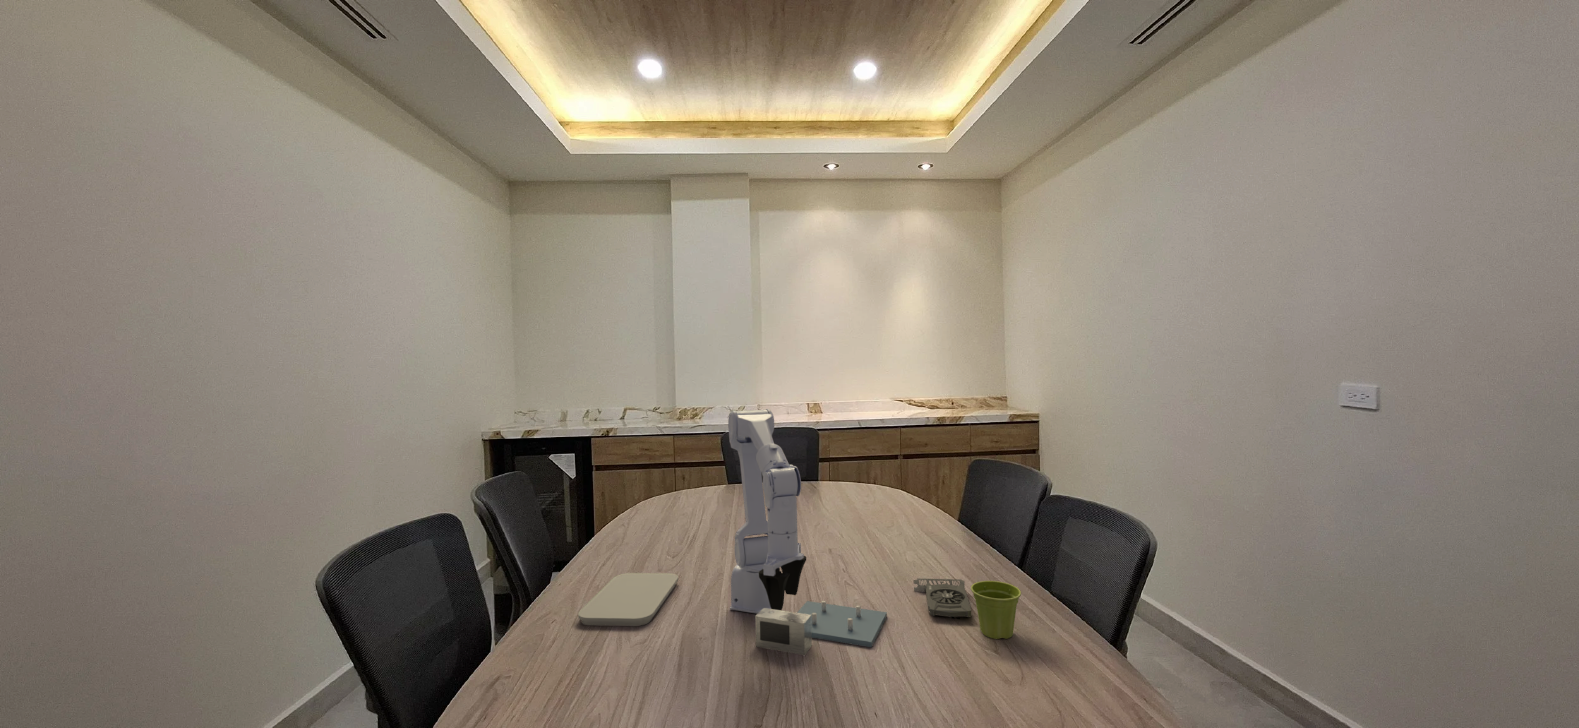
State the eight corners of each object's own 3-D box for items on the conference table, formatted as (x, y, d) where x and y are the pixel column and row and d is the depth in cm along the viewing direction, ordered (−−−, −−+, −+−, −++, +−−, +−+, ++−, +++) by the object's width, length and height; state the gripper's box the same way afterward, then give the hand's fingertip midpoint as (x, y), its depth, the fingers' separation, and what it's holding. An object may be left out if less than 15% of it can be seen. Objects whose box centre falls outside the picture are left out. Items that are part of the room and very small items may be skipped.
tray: (783, 632, 117) (783, 617, 117) (807, 605, 130) (806, 591, 130) (871, 647, 110) (871, 631, 110) (886, 616, 123) (886, 602, 123)
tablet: (573, 628, 121) (572, 617, 121) (618, 581, 147) (618, 572, 147) (649, 629, 120) (648, 618, 120) (681, 582, 146) (681, 573, 146)
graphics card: (913, 576, 138) (965, 577, 136) (913, 592, 138) (966, 593, 136) (915, 606, 121) (975, 608, 119) (916, 624, 121) (976, 626, 119)
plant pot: (1010, 649, 108) (1009, 602, 108) (963, 633, 115) (962, 590, 115) (1029, 631, 115) (1028, 588, 115) (983, 618, 122) (982, 577, 122)
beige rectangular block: (755, 647, 111) (755, 616, 111) (764, 637, 115) (763, 607, 115) (804, 656, 107) (804, 623, 107) (811, 645, 111) (811, 614, 111)
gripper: (788, 542, 103) (790, 618, 103) (814, 522, 117) (815, 590, 117) (752, 539, 106) (754, 613, 106) (782, 520, 119) (783, 586, 119)
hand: (784, 601), depth 111 cm, fingers open, 7 cm apart
